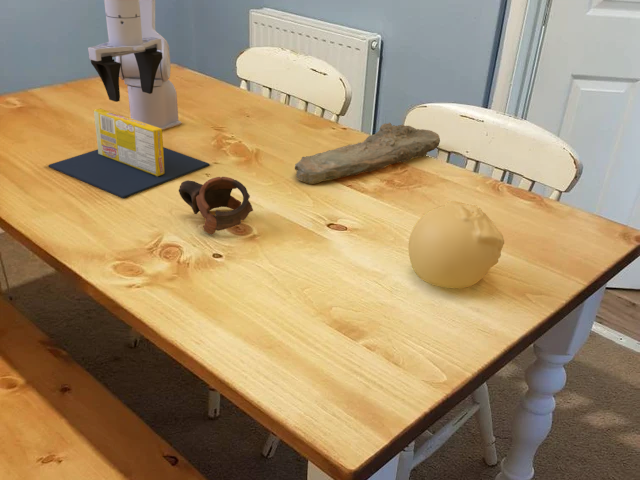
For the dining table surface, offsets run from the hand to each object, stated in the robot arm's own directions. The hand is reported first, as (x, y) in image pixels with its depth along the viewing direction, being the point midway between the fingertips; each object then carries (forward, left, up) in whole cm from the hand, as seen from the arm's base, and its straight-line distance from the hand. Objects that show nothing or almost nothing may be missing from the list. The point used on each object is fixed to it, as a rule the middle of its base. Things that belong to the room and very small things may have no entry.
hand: (131, 96), depth 125 cm
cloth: (+6, +5, -10) cm, 13 cm away
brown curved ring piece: (+12, +32, -11) cm, 35 cm away
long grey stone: (-26, +36, -11) cm, 46 cm away
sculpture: (+3, +68, -11) cm, 69 cm away
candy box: (+5, +5, -10) cm, 13 cm away
